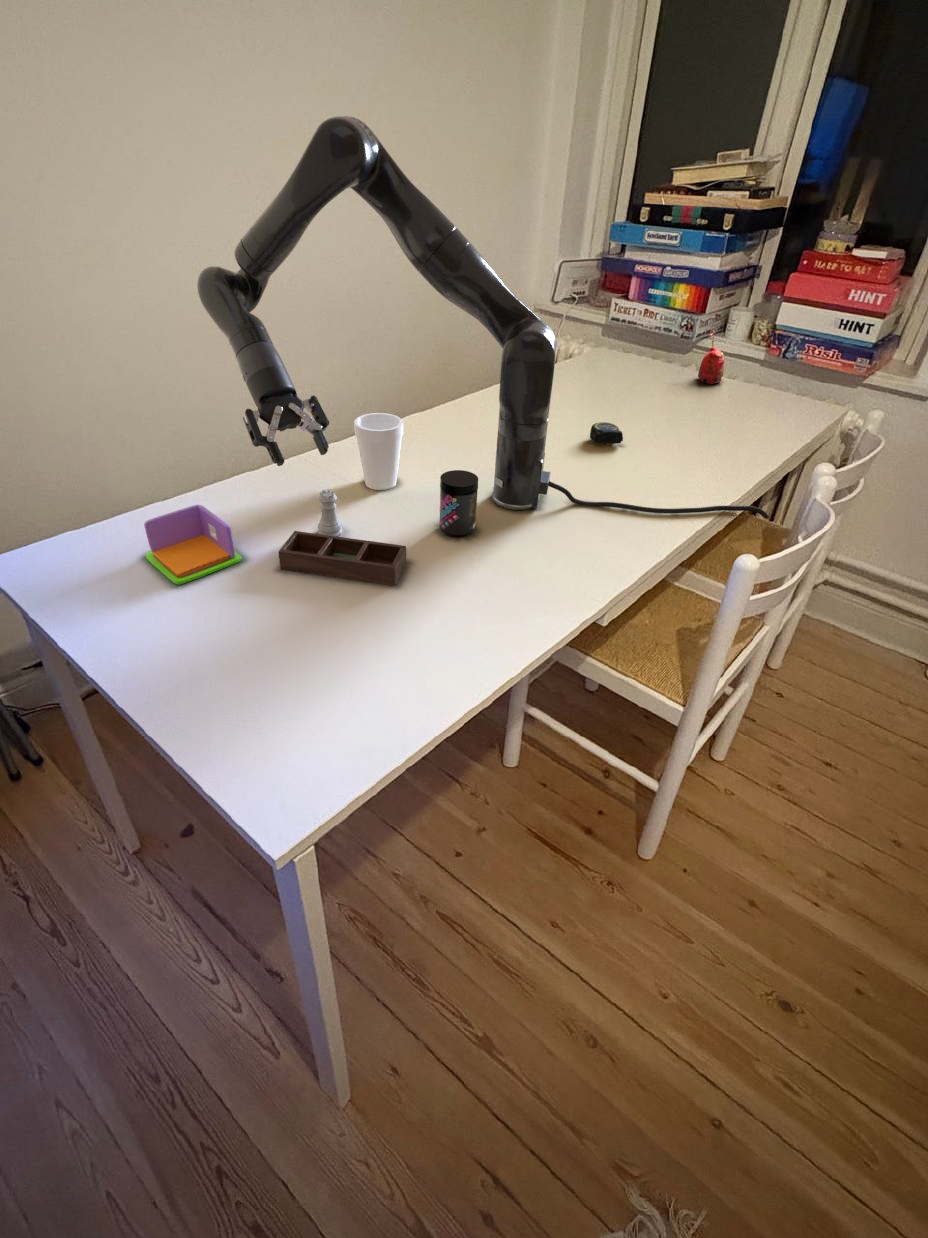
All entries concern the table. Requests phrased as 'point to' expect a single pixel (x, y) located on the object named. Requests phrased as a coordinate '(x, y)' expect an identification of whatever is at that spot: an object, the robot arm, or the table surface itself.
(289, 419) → the robot arm
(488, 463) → the table surface
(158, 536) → the toy room diorama
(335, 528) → the rook chess piece
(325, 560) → the compartment tray
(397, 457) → the foam cup
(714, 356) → the red clay folk toy
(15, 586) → the table surface
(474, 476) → the supplement container
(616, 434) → the tape measure
